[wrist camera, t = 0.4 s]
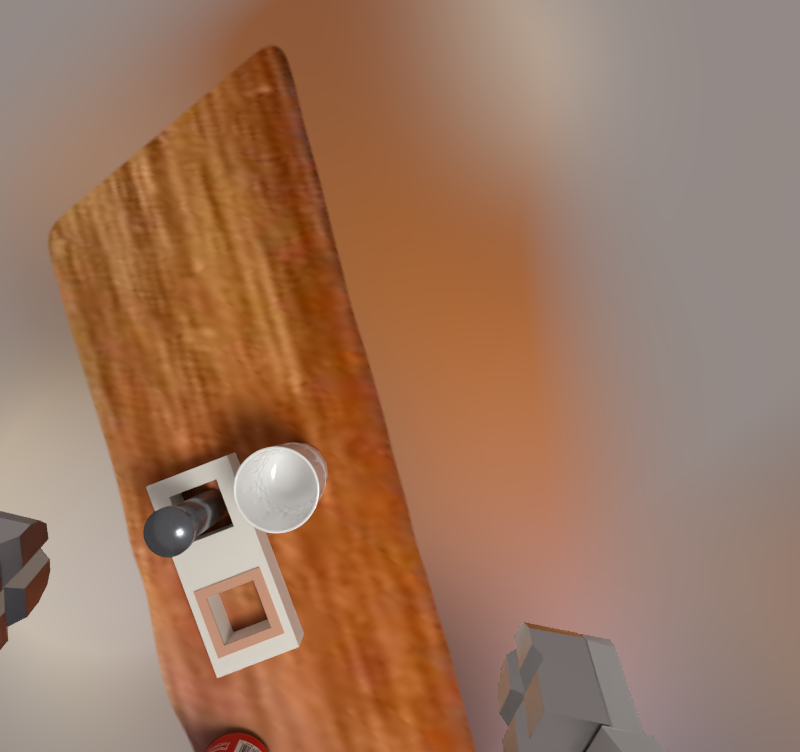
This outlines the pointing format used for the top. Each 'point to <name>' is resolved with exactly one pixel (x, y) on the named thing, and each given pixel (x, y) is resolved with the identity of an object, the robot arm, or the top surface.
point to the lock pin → (183, 523)
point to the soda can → (236, 744)
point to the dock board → (230, 575)
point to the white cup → (280, 486)
